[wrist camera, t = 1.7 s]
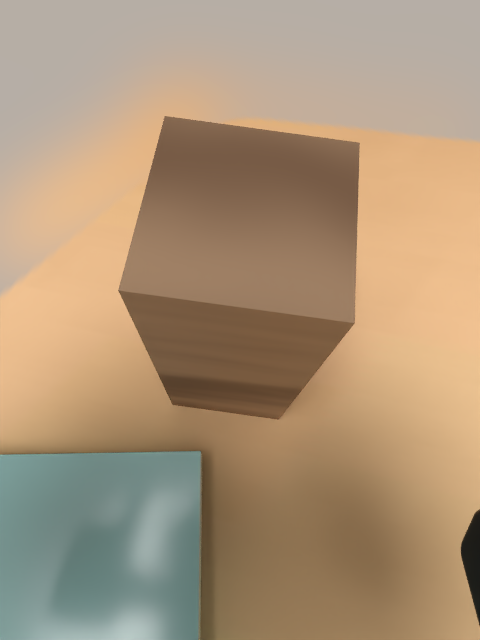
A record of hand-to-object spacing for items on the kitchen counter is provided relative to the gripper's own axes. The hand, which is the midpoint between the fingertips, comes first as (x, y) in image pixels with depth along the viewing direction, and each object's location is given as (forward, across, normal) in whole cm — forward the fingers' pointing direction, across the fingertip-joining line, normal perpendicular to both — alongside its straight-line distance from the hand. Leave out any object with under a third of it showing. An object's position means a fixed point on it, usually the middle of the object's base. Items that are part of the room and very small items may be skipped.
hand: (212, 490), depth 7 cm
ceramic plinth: (+6, +5, +12) cm, 14 cm away
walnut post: (+13, 0, +4) cm, 14 cm away
